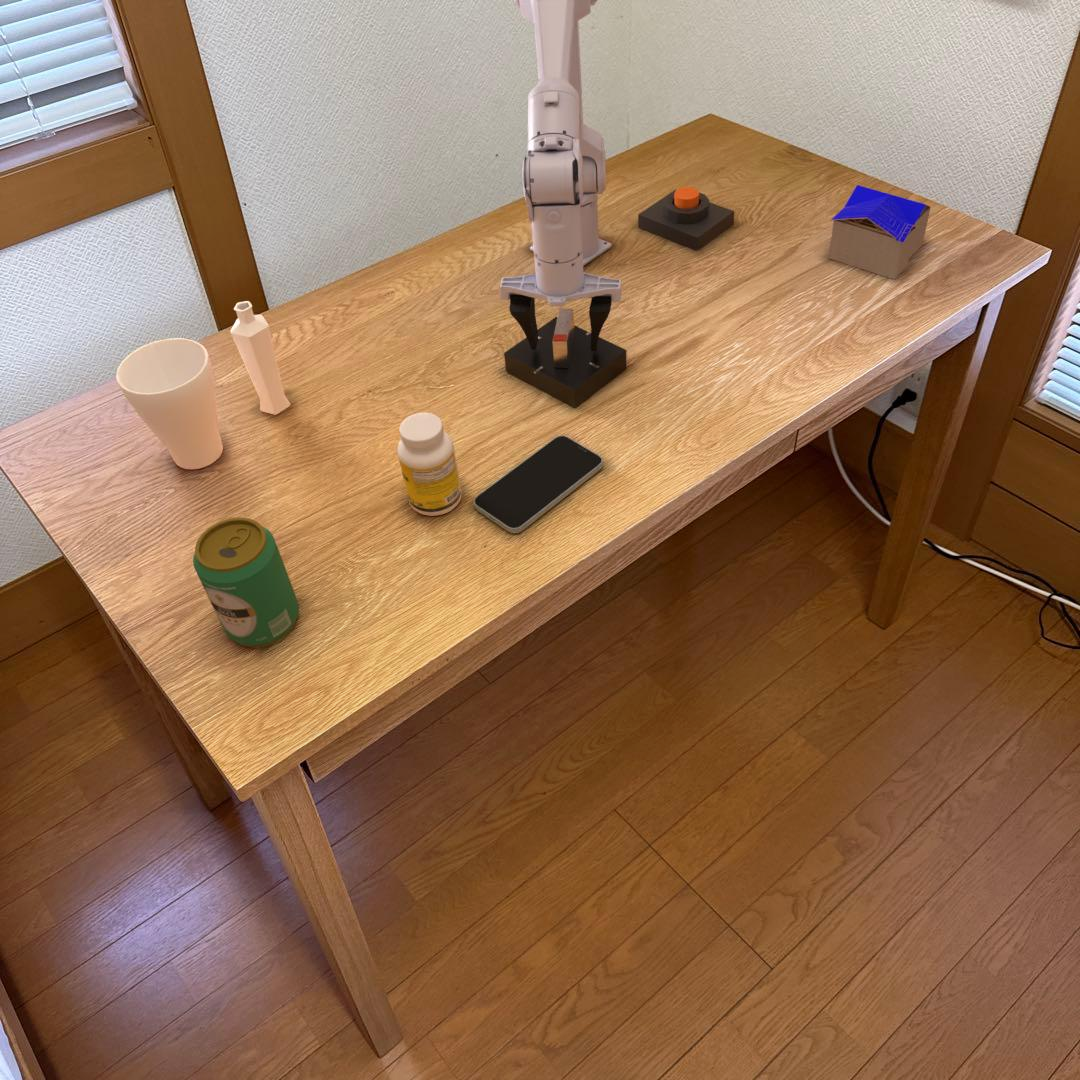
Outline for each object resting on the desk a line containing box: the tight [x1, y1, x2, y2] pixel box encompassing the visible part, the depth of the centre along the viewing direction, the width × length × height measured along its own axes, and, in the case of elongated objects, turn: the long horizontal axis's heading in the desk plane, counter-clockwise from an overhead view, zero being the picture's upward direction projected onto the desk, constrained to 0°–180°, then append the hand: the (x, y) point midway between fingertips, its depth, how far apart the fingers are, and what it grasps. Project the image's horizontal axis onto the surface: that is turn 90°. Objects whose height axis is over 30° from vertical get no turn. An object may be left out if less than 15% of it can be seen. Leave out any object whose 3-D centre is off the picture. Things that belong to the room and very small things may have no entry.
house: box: [827, 184, 932, 280], centre depth 145 cm, size 10×11×8 cm
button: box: [674, 186, 700, 209], centre depth 153 cm, size 4×4×2 cm
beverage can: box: [192, 517, 300, 649], centre depth 105 cm, size 8×8×12 cm
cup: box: [115, 337, 224, 470], centre depth 124 cm, size 10×10×14 cm
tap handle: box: [552, 308, 575, 368], centre depth 131 cm, size 7×2×4 cm, turn 172°
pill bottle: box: [396, 412, 463, 517], centre depth 116 cm, size 6×6×11 cm
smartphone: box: [473, 435, 604, 534], centre depth 120 cm, size 7×1×15 cm
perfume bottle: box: [229, 300, 292, 416], centre depth 129 cm, size 5×4×15 cm
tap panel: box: [503, 316, 628, 409], centre depth 134 cm, size 12×11×3 cm
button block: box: [637, 189, 735, 251], centre depth 155 cm, size 11×9×4 cm
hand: (564, 345), depth 132 cm, fingers open, 7 cm apart
